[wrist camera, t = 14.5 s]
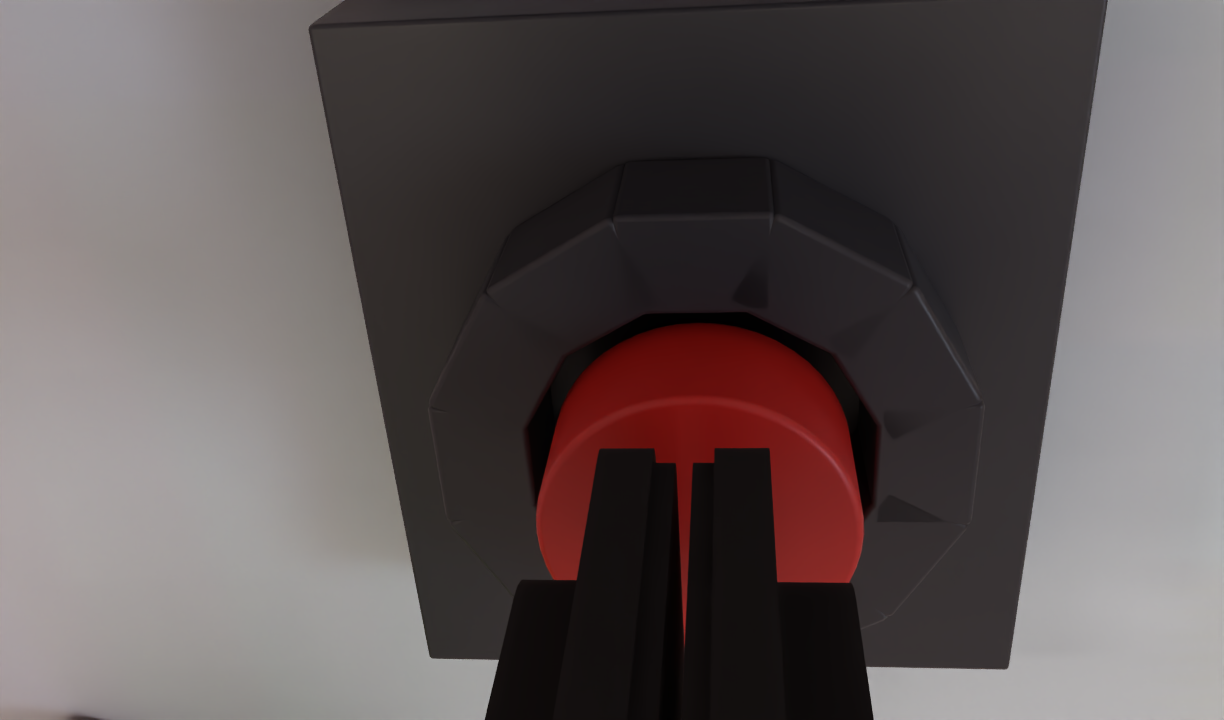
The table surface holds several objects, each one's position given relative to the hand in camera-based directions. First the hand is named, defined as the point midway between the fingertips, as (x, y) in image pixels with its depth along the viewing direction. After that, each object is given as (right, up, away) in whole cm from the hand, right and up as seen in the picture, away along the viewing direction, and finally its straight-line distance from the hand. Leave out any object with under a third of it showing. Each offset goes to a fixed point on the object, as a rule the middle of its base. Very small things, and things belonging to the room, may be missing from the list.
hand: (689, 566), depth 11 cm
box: (+1, +3, +6) cm, 6 cm away
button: (0, +1, +2) cm, 3 cm away
